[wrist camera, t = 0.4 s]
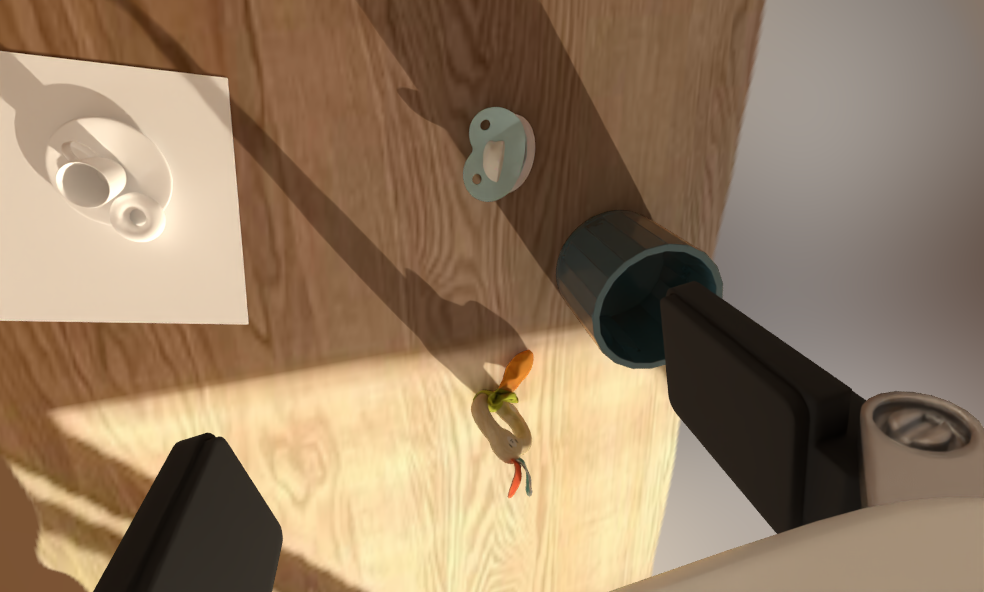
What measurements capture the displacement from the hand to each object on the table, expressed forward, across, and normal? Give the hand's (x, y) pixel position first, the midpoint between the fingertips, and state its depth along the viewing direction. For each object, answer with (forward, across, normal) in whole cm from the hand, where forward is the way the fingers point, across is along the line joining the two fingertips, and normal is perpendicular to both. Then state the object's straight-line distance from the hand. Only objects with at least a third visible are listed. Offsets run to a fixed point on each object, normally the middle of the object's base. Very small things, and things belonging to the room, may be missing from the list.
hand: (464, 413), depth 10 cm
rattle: (+34, -3, +26) cm, 43 cm away
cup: (+34, -16, +15) cm, 40 cm away
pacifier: (+34, -8, +2) cm, 35 cm away
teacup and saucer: (+34, +23, -3) cm, 41 cm away
